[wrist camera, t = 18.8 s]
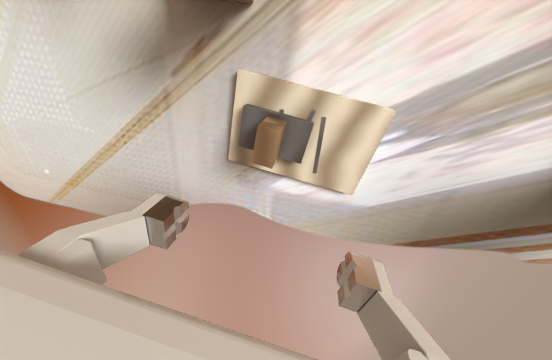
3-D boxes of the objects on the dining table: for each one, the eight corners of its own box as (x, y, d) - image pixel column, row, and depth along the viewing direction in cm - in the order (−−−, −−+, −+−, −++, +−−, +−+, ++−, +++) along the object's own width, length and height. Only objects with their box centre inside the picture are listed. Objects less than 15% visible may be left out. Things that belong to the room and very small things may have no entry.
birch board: (392, 109, 27) (396, 111, 26) (350, 190, 34) (352, 195, 33) (241, 68, 28) (237, 68, 26) (231, 156, 35) (227, 159, 34)
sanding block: (313, 121, 28) (312, 135, 22) (301, 158, 31) (297, 180, 25) (247, 103, 28) (228, 112, 22) (242, 141, 32) (224, 158, 26)
